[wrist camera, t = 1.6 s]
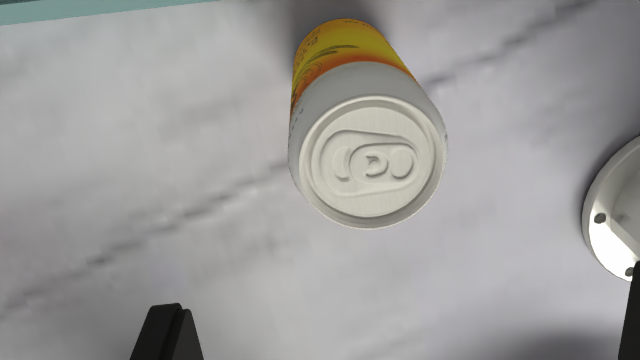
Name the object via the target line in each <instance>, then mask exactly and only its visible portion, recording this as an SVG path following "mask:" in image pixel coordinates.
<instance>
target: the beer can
mask: <svg viewBox="0 0 640 360" xmlns="http://www.w3.org/2000/svg"><path fill="white" fill-rule="evenodd" d="M447 154H448V139H447V132H446V128H445V125H444V122H443V119H442V117H441V115H440V113H439V111H438V110H437V108H436V107H435V105H434V104H433V103H432V101H431V100H430V99H429V97H428V96H427V94H426V93H425V92H424V90H423V89H422V88H421V86H420V85H419V84H418V82H417V81H416V80H415V78H414V77H413V75H412V74H411V73H410V71H409V70H408V69H407V67H406V66H405V65H404V63H403V62H402V61H401V59H400V58H399V57H398V55H397V54H396V52H395V51H394V50H393V48H392V47H391V46H390V44H389V43H388V42H387V40H386V39H385V38H384V36H383V35H382V34H381V33H380V32H379V31H378V30H377V29H375V28H374V27H372V26H371V25H369V24H367V23H365V22H362V21H360V20H355V19H348V18H347V19H335V20H331V21H328V22H325V23H323V24H321V25H319V26H318V27H316V28H315V29H313V30H312V31H311V32H310V33H309V34H308V35H307V36H306V37H305V38H304V40H303V41H302V42H301V44H300V46H299V48H298V50H297V52H296V55H295V59H294V65H293V79H292V94H291V109H290V123H289V138H288V164H289V169H290V173H291V176H292V178H293V181H294V183H295V185H296V187H297V189H298V190H299V192H300V193H301V194H302V196H303V197H304V198H305V199H306V200H307V201H308V202H309V203H310V204H311V205H312V206H313V207H314V208H315V209H316V210H318V211H319V212H320V213H321V214H322V215H324V216H325V217H326V218H328V219H330V220H331V221H333V222H335V223H337V224H340V225H342V226H346V227H349V228H355V229H364V230H370V229H381V228H385V227H389V226H393V225H396V224H398V223H400V222H403V221H405V220H406V219H408V218H410V217H411V216H413V215H414V214H416V213H417V212H418V211H419V210H420V209H422V208H423V207H424V206H425V205H426V204H427V202H428V201H429V200H430V199H431V197H432V196H433V195H434V193H435V191H436V189H437V188H438V185H439V183H440V181H441V177H442V174H443V171H444V167H445V164H446V160H447Z"/></svg>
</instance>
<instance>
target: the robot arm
mask: <svg viewBox="0 0 640 360" xmlns="http://www.w3.org/2000/svg"><path fill="white" fill-rule="evenodd" d="M582 232H583V235H584V239H585V242H586V245H587V246H588V248H589V250H590V251H591V253H592V255H593V256H594V257H595V258H596V259H597V261H598V262H599V263H600V264H601V265H602V266H603V267H604V268H605V269H606V270H608V271H609V272H610V273H612V274H613V275H615V276H617V277H619V278H621V279H623V280H626V281H629V282H631V286H630V292H629V297H628V303H627V309H626V314H625V320H624V326H623V331H622V337H621V343H620V348H619V354H618V360H640V136H638V137H637V138H635V139H634V140H632V141H630V142H629V143H627V144H626V145H625V146H624V147H623V148H621V149H620V150H619V151H618V152H617V153H616V154H614V155H613V156H612V157H611V158H610V160H609V161H608V162H607V163H606V164H605V165H604V167H603V168H602V169H601V170H600V171H599V173H598V175H597V176H596V178H595V180H594V181H593V183H592V185H591V186H590V189H589V191H588V194H587V196H586V199H585V202H584V207H583V213H582ZM130 360H204V358H203V354H202V351H201V347H200V343H199V339H198V336H197V332H196V328H195V324H194V320H193V317H192V313H191V311H190V309H182V306H181V305H180V304H179V303H173V304H164V305H155V306H152V307H151V308H150V309H149V312H148V314H147V317H146V319H145V322H144V324H143V327H142V329H141V332H140V335H139V337H138V340H137V342H136V345H135V347H134V350H133V352H132V355H131V357H130Z"/></svg>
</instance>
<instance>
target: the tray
mask: <svg viewBox="0 0 640 360" xmlns="http://www.w3.org/2000/svg"><path fill="white" fill-rule="evenodd" d="M210 1H218V0H0V25H9V24H18V23H26V22H35V21H44V20H52V19H61V18H70V17H79V16H87V15H96V14H105V13H114V12H122V11H131V10H140V9H148V8H157V7H166V6H175V5H183V4H192V3H201V2H210Z"/></svg>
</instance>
